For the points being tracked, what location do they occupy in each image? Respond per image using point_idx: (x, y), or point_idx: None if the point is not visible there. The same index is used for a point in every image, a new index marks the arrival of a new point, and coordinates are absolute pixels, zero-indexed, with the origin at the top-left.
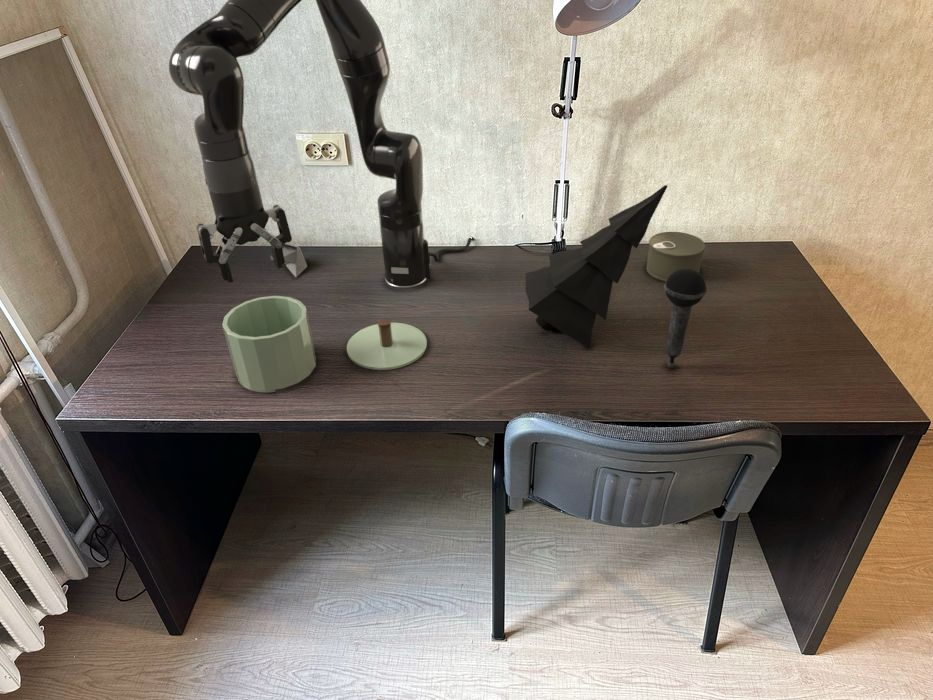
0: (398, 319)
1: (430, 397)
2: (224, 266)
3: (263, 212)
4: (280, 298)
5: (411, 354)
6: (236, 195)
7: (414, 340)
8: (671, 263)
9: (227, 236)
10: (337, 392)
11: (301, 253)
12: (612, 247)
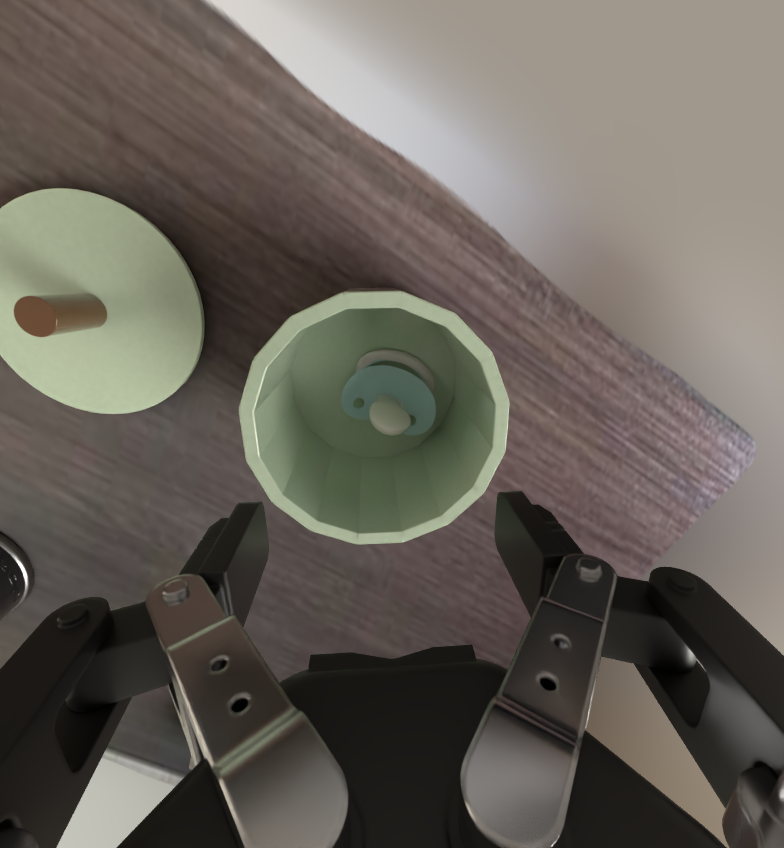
0: (39, 420)
1: (34, 2)
2: (559, 548)
3: None
4: (301, 509)
5: (31, 220)
6: None
7: (7, 282)
8: None
9: (603, 751)
10: (274, 200)
11: None
12: None
